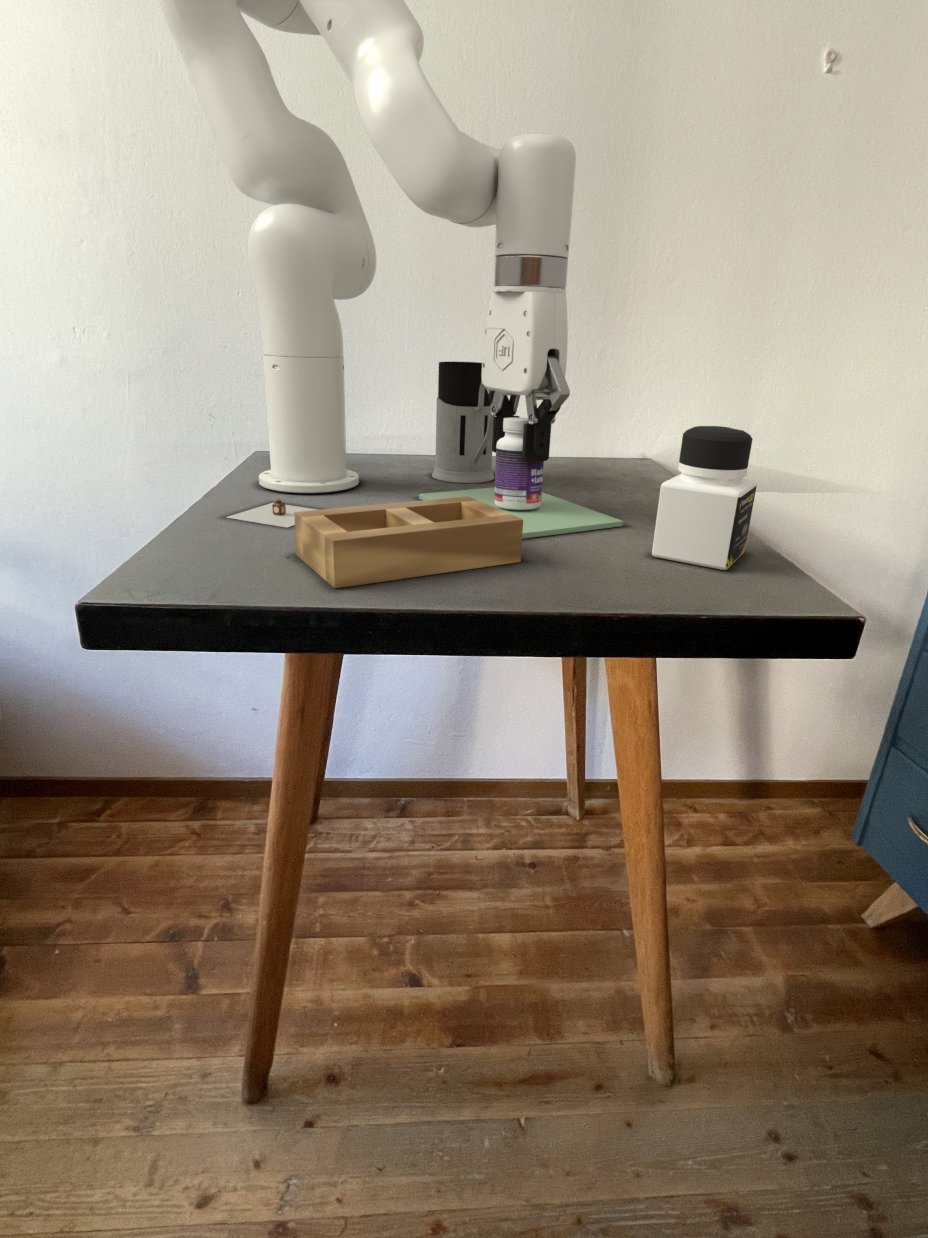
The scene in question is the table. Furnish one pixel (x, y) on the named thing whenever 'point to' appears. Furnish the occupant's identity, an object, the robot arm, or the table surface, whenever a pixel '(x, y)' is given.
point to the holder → (405, 540)
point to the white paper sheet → (271, 514)
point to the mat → (541, 513)
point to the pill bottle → (516, 470)
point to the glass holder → (463, 425)
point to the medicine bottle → (707, 500)
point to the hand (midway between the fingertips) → (519, 454)
